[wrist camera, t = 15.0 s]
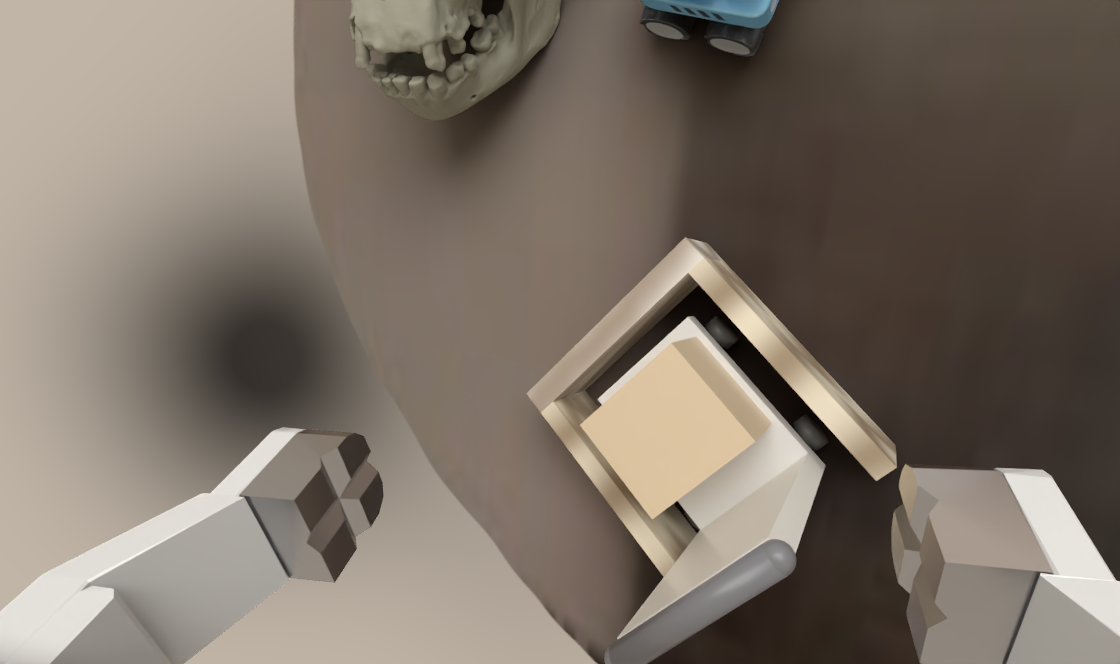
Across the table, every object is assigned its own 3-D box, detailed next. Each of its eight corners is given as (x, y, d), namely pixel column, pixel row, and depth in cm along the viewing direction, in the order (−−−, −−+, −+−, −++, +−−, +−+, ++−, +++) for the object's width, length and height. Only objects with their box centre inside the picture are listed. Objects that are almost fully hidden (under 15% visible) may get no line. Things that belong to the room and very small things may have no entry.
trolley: (840, 449, 44) (806, 569, 25) (717, 535, 49) (610, 691, 30) (711, 306, 48) (598, 317, 29) (609, 398, 53) (453, 460, 34)
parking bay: (895, 445, 43) (896, 467, 37) (706, 572, 50) (685, 605, 45) (707, 243, 48) (685, 237, 43) (560, 383, 55) (526, 393, 50)
